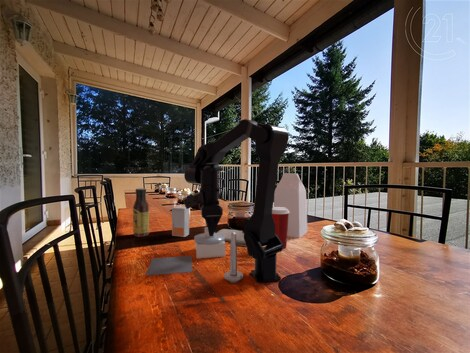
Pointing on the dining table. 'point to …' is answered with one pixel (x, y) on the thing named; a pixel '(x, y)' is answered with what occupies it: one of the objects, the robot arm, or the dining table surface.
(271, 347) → the dining table surface
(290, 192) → the milk
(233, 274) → the screw
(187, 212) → the skincare box
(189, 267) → the mat
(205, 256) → the dish
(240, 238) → the washcloth
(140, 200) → the sauce bottle
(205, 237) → the lid
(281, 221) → the paper cup
